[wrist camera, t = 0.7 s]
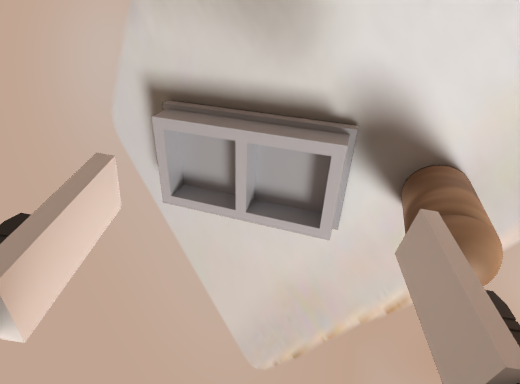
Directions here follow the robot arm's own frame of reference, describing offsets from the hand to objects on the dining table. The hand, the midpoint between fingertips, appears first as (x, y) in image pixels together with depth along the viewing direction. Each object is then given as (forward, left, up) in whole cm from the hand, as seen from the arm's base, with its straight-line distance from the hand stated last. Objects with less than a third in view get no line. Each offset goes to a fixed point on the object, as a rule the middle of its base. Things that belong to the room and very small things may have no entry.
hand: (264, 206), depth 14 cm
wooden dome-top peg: (-1, +12, -15) cm, 19 cm away
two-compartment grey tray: (+7, -2, -15) cm, 17 cm away
